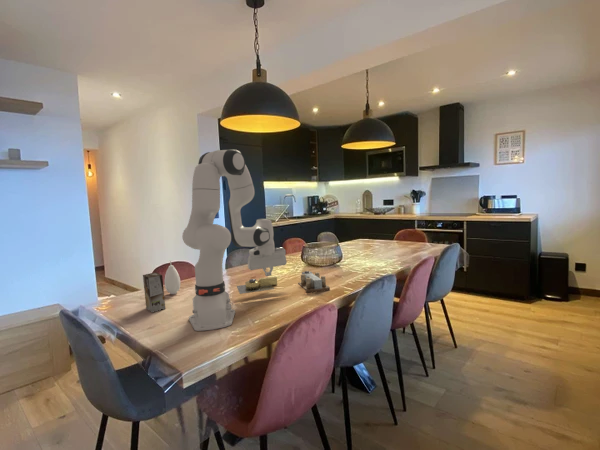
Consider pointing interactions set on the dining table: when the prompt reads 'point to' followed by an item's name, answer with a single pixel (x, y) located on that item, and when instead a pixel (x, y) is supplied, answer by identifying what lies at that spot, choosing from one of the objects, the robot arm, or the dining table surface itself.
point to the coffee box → (154, 291)
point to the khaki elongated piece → (261, 282)
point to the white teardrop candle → (172, 280)
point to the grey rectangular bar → (313, 280)
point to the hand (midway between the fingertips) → (268, 275)
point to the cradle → (307, 284)
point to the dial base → (243, 289)
